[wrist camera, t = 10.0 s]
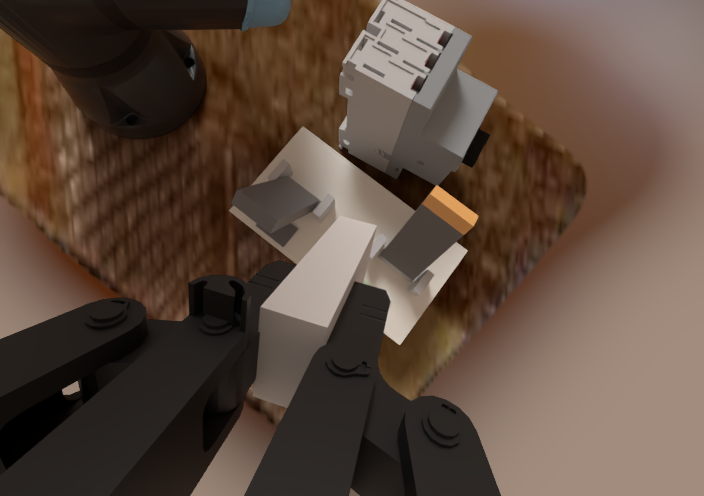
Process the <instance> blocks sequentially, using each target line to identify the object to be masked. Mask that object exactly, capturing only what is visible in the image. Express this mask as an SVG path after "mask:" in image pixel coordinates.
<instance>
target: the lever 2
mask: <svg viewBox="0 0 704 496" xmlns="http://www.w3.org/2000/svg"><path fill="white" fill-rule="evenodd" d="M478 217H479V216H478V215H477V214H475V213H474V212H472V211H471V210H470V209H468V208H467V207H466V206H464V205H463V204H462V203H460V202H459V201H458V200H456V199H455V198H454V197H452V196H451V195H450V194H448V193H447V192H446V191H444V190H443V189H442V188H440V187H439V186H438V185H436V186H435V188H434V189H433V190H432V191H431V193H430V194H429V195H428V196H427V198H426V199H425V200H424V201H423V202H422V204H421V205H420V206H419V207H418V209H417V210H416V211H415V212H414V213H413V215H412V216H411V217H410V218H409V220H408V221H407V222H406V223H405V224H404V226H403V227H402V228H401V229H400V231H399V232H398V233H397V234H396V235H395V237H394V238H393V239H392V240H391V242H390V243H389V244H388V245H387V246H386V248H385V249H383V250H382V251H381V252H380V254H379V255H378V256H377V257H378V258H380V259H381V260H382V261H384V262H385V263H386V264H388V265H389V266H390V267H391V268H393V269H394V270H395V271H397V272H398V273H399V274H400V275H402V276H403V277H404V278H406V279H407V280H408V281H410V282H411V283H412V282H413V281H414V280H415V278H416V277H418V276H419V275H420V274H421V273H422V272H423V271H424V270H425V269H427V268H428V267H429V266H430V265H431V264H432V263H433V262H434V261H435V260H437V259H438V258H439V257H440V256H441V255H442V254H443V253H444V252H446V251H447V250H448V249H449V248H450V247H451V246H452V245H453V244H454V243H456V242H457V241H458V240H459V239H460V238H461V237H462V236H463V235H465V234H466V233H467V232H468V231H469V230H470V229H471V228H472V227H473V226H474V225H475V223H476V221H477V219H478Z"/></svg>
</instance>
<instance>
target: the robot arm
mask: <svg viewBox="0 0 704 496" xmlns="http://www.w3.org/2000/svg"><path fill="white" fill-rule="evenodd" d="M290 9H291V0H0V28H1V29H2V30H3V31H5V32H6V33H7V34H8V35H10V36H11V37H12V38H14V39H15V40H16V41H17V42H19V43H20V44H21V45H23V46H24V47H25V48H26V49H28V50H29V51H30V52H31V53H33V54H34V55H35V56H37V57H38V58H39V59H41V60H42V61H43V62H44V63H46V64H47V65H48V66H49V67H50V68H51V69H52V71H53V72H54V73H55V75H56V76H57V78H58V79H59V81H60V82H61V84H62V85H63V87H64V88H65V90H66V91H67V93H68V94H69V96H70V97H71V99H72V100H73V102H74V103H75V105H76V106H77V107H78V108H79V109H80V110H81V111H82V112H83V113H84V114H85V115H86V116H87V117H88V118H89V119H91V120H92V121H93V122H95V123H96V124H98V125H99V126H100V127H102V128H103V129H105V130H107V131H108V132H110V133H113V134H115V135H118V136H122V137H126V138H134V139H144V138H152V137H156V136H160V135H163V134H166V133H168V132H170V131H172V130H174V129H176V128H177V127H179V126H180V125H182V124H183V123H184V122H185V121H187V120H188V119H189V118H190V117H191V115H192V114H193V113H194V112H195V110H196V109H197V107H198V106H199V104H200V102H201V100H202V97H203V94H204V91H205V84H206V74H205V69H204V65H203V62H202V60H201V58H200V56H199V54H198V52H197V50H196V49H195V47H194V45H193V43H192V42H191V40H190V39H189V38H188V36H187V35H186V34H185V33H184V32H183V31H182V30H209V29H240V30H241V31H245V30H248V29H249V28H255V27H268V26H276V25H279V24H281V23H282V22H283V21H284V20H285V19H286V18H287V17H288V15H289V12H290ZM376 228H377V225H373V224H369V223H366V222H362V221H358V220H354V219H350V218H347V217H343V216H339V218H338V219H337V220H336V221H335V222H334V223H333V224H332V226H331V227H330V228H329V229H328V230H327V231H326V232H325V234H324V235H323V236H322V237H321V238H320V239H319V240H318V242H317V243H316V244H315V245H314V246H313V247H312V248H311V250H310V251H309V252H308V253H307V254H306V255H305V256H304V258H303V259H302V260H301V261H300V262H299V263H298V264H297V266H296V265H293V264H290V263H286V262H283V261H279V260H278V261H276V262H273V263H270V264H268V265H265V266H264V267H263V268H262V269H261V270H260V271H259V272H258V273H256V276H255V275H254V276H253V277H252V278H251V279H250V280H249V282H248V283H246V282H245V281H243V280H241V279H238V278H236V277H232V276H227V275H210V276H205V277H201V278H198V279H196V280H194V281H192V282H190V283H188V284H189V316H188V317H186V318H185V319H184V320H183V321H167V320H152V319H147V317H146V308H145V307H144V306H143V305H142V304H141V303H140V302H138V301H135V300H133V299H128V298H110V299H103V300H99V301H96V302H92V303H89V304H86V305H84V306H81V307H79V308H77V309H74V310H72V311H69V312H67V313H64V314H62V315H59V316H57V317H54V318H52V319H49V320H47V321H44V322H42V323H39V324H37V325H34V326H32V327H29V328H27V329H24V330H22V331H19V332H17V333H14V334H12V335H10V336H7V337H4V338H2V339H0V496H190V495H191V493H192V492H193V490H194V488H195V487H196V485H197V483H198V482H199V481H200V479H201V478H202V476H203V474H204V473H205V471H206V470H207V468H208V466H209V465H210V463H211V462H212V460H213V458H214V457H215V455H216V453H217V452H218V450H219V449H220V447H221V446H222V444H223V442H224V441H225V439H226V438H227V436H228V434H229V433H230V431H231V430H232V428H233V426H234V425H235V423H236V422H237V420H238V418H239V417H240V415H241V412H242V409H243V405H244V396H245V394H246V393H247V391H248V390H249V388H250V387H251V385H252V384H253V382H254V387H253V397H256V398H259V399H262V400H265V401H267V402H270V403H273V404H276V405H279V406H282V407H285V408H287V410H286V412H285V414H284V416H283V418H282V420H281V422H280V424H279V426H278V428H277V430H276V432H275V434H274V436H273V438H272V440H271V442H270V444H269V446H268V448H267V450H266V453H265V454H264V456H263V459H262V461H261V463H260V465H259V467H258V469H257V471H256V473H255V475H254V477H253V479H252V481H251V483H250V485H249V487H248V489H247V491H246V493H245V495H244V496H349V493H350V488H352V489H353V490H354V491H355V492H357V493H358V494H359V495H360V496H501V494H500V492H499V489H498V486H497V484H496V481H495V478H494V476H493V473H492V470H491V468H490V465H489V462H488V460H487V457H486V454H485V452H484V449H483V446H482V444H481V441H480V438H479V436H478V433H477V431H476V429H475V427H474V426H473V424H472V422H471V421H470V419H469V417H468V416H467V415H466V414H465V413H464V412H463V411H462V410H461V409H460V408H459V407H457V406H455V405H454V404H452V403H451V402H449V401H447V400H445V399H442V398H438V397H435V396H420V397H418V398H416V399H415V400H413V401H410V400H409V399H407V398H405V397H404V396H402V395H401V394H399V393H398V392H396V391H395V390H394V389H393V388H391V387H390V386H389V385H388V384H387V382H386V381H385V380H384V379H383V377H382V375H381V374H380V372H379V368H378V355H379V351H380V346H381V342H382V337H383V333H384V328H385V324H386V319H387V315H388V310H389V306H390V302H391V301H390V299H389V296H388V294H387V291H386V290H384V289H380V288H377V287H373V286H370V285H366V284H363V282H364V278H365V273H366V269H367V265H368V261H369V257H370V253H371V249H372V244H373V240H374V236H375V232H376ZM76 381H78V383H79V388H80V391H78V392H75V393H73V394H71V395H63V393H62V389H63V388H65V387H67V386H69V385H71V384H72V383H74V382H76Z"/></svg>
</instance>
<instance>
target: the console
mask: <svg viewBox="0 0 704 496" xmlns="http://www.w3.org/2000/svg"><path fill="white" fill-rule="evenodd" d="M286 176H289V177H291V178H292V179H293V180H295V181H296V182H297V183H299V184H300V185H301V186H303V187H304V188H305V189H306V190H308V191H309V192H310V193H312V194H313V195H314V196H316V197H317V198H318V199H319V200H321V201H322V202H321V203H320V204H319V205H318V206H317V208H316V209H314V210H313V212H311V213H309V214H307V215H305V216H303V217H301V218H299V219H297V220H295V221H293V222H292V223H290V224H288V225H286V226H284V227H282V228H280V229H278V230H276V231H274V232H273V233H271V234H270V233H268V232H267V231H266V230H264V229H263V228H262V227H261V226H259V225H258V224H257V223H256V222H254V221H253V220H252V219H250V218H249V217H248V216H247V215H245V214H244V213H243V212H241V211H240V210H239V209H238V208H236V207H235V206H234V205H233V206H232V208H231V209H230V210H229V211H230V212H231V213H232V214H233V215H235V216H236V217H237V218H238V219H240V220H241V221H242V222H243V223H245V224H246V225H247V226H248V227H250V228H251V229H252V230H254V231H255V232H256V233H257V234H259V235H260V236H261V237H262V238H264V239H265V240H266V241H267V242H269V243H270V244H271V245H273V246H274V247H275V248H276V249H278V250H279V251H280V252H281V253H283V254H284V255H285V256H287V257H288V258H289V259H290V260H292V261H293V262H294V263H295V264H298V263H299V262H300V261H301V260H302V259H303V258H304V256H305V255H306V254H307V253H308V252H309V251H310V250H311V248H312V247H313V246H314V245H315V244H316V243H317V242H318V240H319V239H320V238H321V237H322V236H323V235H324V234H325V232H326V231H327V230H328V229H329V228H330V227H331V226H332V224H333V223H334V222H335V221H336V220H337V219H338V218H339V216H343V217H347V218H350V219H354V220H358V221H362V222H366V223H369V224H373V225H377V228H376V232H375V236H374V240H373V244H372V249H371V253H370V257H369V261H368V265H367V269H366V273H365V278H364V282H363V284H366V285H370V286H373V287H377V288H380V289H384V290H386V291H387V294H388V296H389V299H390V301H391V302H390V306H389V310H388V315H387V319H386V324H385V328H384V334H386V335H387V336H388V337H389V338H391V339H392V340H393V341H395V342H396V343H397V344H399V345H401V343H402V342H403V340H404V339H405V338H406V336H407V335H408V333H409V332H410V331H411V329H412V328H413V327H414V325H415V324H416V322H417V321H418V320H419V318H420V317H421V315H422V314H423V313H424V311H425V310H426V308H427V307H428V306H429V304H430V303H431V302H432V300H433V299H434V297H435V296H436V295H437V293H438V292H439V290H440V289H441V288H442V286H443V285H444V283H445V282H446V281H447V279H448V278H449V276H450V275H451V274H452V272H453V271H454V270H455V268H456V267H457V265H458V264H459V263H460V261H461V260H462V258H463V257H464V256H465V254H466V253H467V251H468V250H466V249H465V248H464V247H462V246H461V245H460V244H458V243H457V242H456V243H454V244H453V245H452V246H451V247H450V248H449V249H448V250H447V251H446V252H444V253H443V254H442V255H441V256H440V257H439V258H438V259H437V260H435V261H434V262H433V263H432V264H431V265H430V266H429V267H428V268H427V269H425V270H424V271H423V272H422V273H421V274H420V275H419V276H418V277H416V278H415V280H414V281H413V282H412V283H411V282H410V281H408V280H407V279H406V278H404V277H403V276H402V275H400V274H399V273H398V272H397V271H395V270H394V269H393V268H391V267H390V266H389V265H388V264H386V263H385V262H384V261H382V260H381V259H380V258H378V257H377V256H378V255H379V254H380V252H381V251H382V250H383V249H385V248H386V246H387V245H388V244H389V243H390V242H391V240H392V239H393V238H394V237H395V235H396V234H397V233H398V232H399V231H400V229H401V228H402V227H403V226H404V224H405V223H406V222H407V221H408V220H409V218H410V217H411V216H412V215H413V213H414V212H415V210H413V209H412V208H411V207H409V206H408V205H407V204H405V203H404V202H403V201H401V200H400V199H399V198H397V197H396V196H395V195H393V194H392V193H391V192H389V191H388V190H387V189H385V188H384V187H383V186H381V185H380V184H379V183H377V182H376V181H375V180H373V179H372V178H371V177H369V176H368V175H367V174H366V173H364V172H363V171H362V170H360V169H359V168H358V167H356V166H355V165H354V164H352V163H351V162H350V161H348V160H347V159H346V158H344V157H343V156H342V155H340V154H339V153H338V152H336V151H335V150H334V149H332V148H331V147H330V146H328V145H327V144H326V143H324V142H323V141H322V140H320V139H319V138H318V137H316V136H315V135H314V134H312V133H311V132H310V131H309V130H307V129H306V128H305V127H302V128H301V129H300V130H299V131H298V132H297V133H296V135H295V136H294V137H293V138H292V139H291V140H290V141H289V143H288V144H287V145H286V146H285V147H284V148H283V149H282V151H281V152H280V153H279V154H278V155H277V156H276V157H275V159H274V160H273V161H272V162H271V163H270V164H269V165H268V167H267V168H266V169H265V170H264V171H263V172H262V173H261V174H260V176H259V177H258V178H257V179H256V180H255V181H254V182H253V184H252V185H255V184H259V183H263V182H267V181H271V180H275V179H279V178H283V177H286Z"/></svg>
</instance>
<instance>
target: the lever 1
mask: <svg viewBox="0 0 704 496" xmlns="http://www.w3.org/2000/svg"><path fill="white" fill-rule="evenodd" d="M321 202H322V201H321V200H319V199H318V198H317V197H316V196H314V195H313V194H312V193H310V192H309V191H308V190H306V189H305V188H304V187H303V186H301V185H300V184H299V183H297V182H296V181H295V180H293V179H292V178H291V177H289V176H286V177H283V178H279V179H275V180H271V181H267V182H263V183H259V184H255V185H251V186H247V187H243V188H240V189H237V191H236V193H235V195H234V198H233V200H232V202H231V204H233V205H234V206H235V207H236V208H238V209H239V210H240V211H241V212H243V213H244V214H245V215H247V216H248V217H249V218H250V219H252V220H253V221H254V222H256V223H257V224H258V225H259V226H261V227H262V228H263V229H264V230H266V231H267V232H268V233H270V234H271V233H273V232H274V231H276V230H278V229H280V228H282V227H284V226H286V225H288V224H290V223H292V222H293V221H295V220H297V219H299V218H301V217H303V216H305V215H307V214H309V213H311V212H313V210H314V209H316V208H317V206H318V205H319V204H320V203H321Z"/></svg>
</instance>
